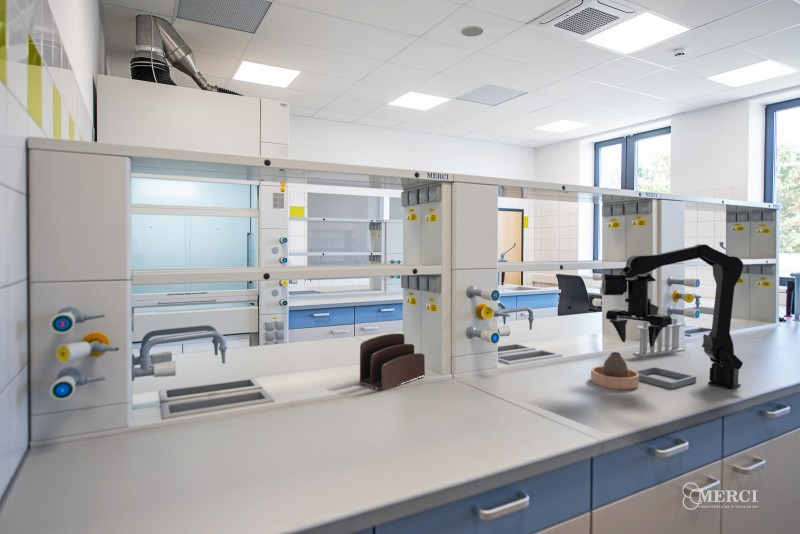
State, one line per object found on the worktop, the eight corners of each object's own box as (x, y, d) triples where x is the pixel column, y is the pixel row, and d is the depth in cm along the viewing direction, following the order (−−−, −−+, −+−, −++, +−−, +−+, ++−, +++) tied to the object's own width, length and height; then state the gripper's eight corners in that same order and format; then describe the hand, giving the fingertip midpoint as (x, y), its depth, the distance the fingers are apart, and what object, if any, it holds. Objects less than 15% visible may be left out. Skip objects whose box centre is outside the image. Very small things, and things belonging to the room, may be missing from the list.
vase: (598, 378, 151) (598, 351, 150) (615, 376, 153) (615, 349, 153) (614, 385, 144) (615, 356, 144) (632, 382, 147) (633, 354, 146)
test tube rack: (643, 357, 183) (644, 322, 182) (633, 354, 187) (634, 321, 186) (684, 350, 194) (686, 318, 193) (674, 348, 198) (675, 316, 197)
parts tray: (695, 382, 150) (696, 376, 150) (672, 388, 143) (672, 383, 143) (653, 371, 162) (653, 366, 161) (629, 377, 154) (629, 372, 154)
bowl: (647, 384, 147) (648, 374, 147) (621, 392, 140) (621, 380, 139) (608, 374, 158) (608, 364, 158) (582, 380, 151) (582, 369, 151)
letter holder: (359, 384, 146) (359, 339, 145) (402, 371, 160) (402, 330, 160) (382, 392, 139) (382, 344, 138) (425, 377, 154) (425, 334, 153)
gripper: (681, 295, 147) (681, 346, 148) (624, 291, 163) (624, 336, 164) (662, 298, 141) (661, 351, 142) (605, 293, 157) (604, 340, 158)
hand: (637, 344), depth 151 cm, fingers open, 9 cm apart
